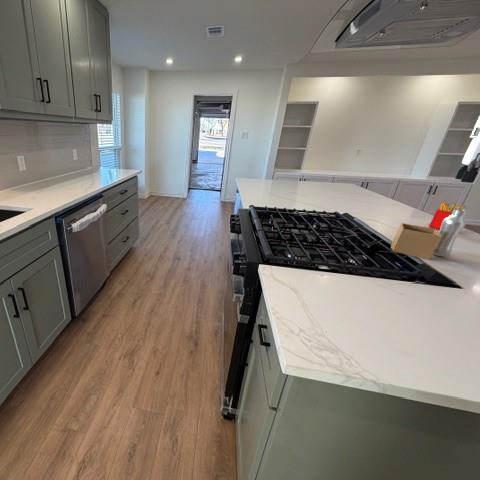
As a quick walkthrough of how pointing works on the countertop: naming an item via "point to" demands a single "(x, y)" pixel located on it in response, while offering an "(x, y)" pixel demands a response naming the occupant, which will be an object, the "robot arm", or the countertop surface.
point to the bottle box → (415, 240)
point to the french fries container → (442, 215)
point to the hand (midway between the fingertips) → (463, 180)
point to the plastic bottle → (450, 232)
